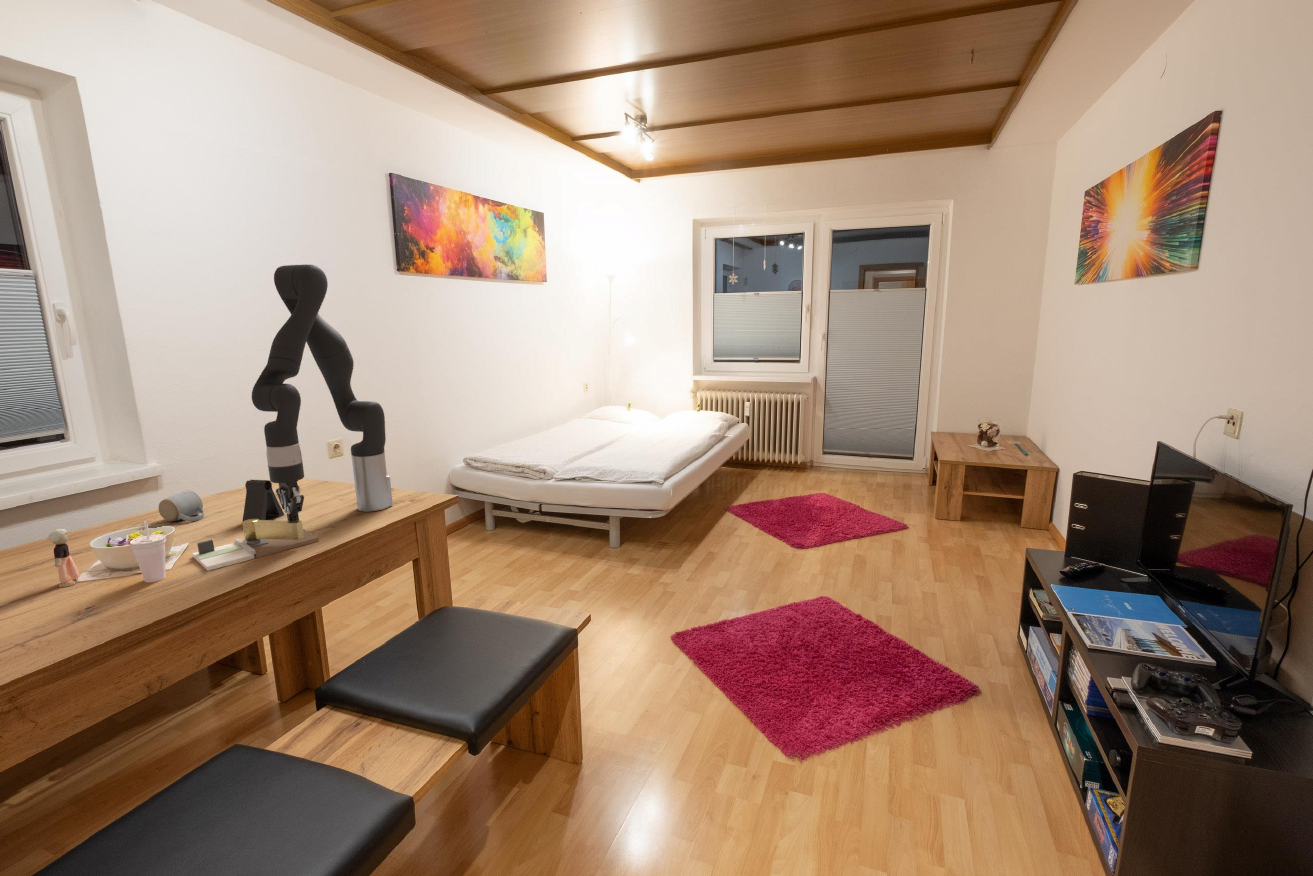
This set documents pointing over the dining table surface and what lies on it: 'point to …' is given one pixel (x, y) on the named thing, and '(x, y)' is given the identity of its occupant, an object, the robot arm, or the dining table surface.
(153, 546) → the smoothie
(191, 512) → the ceramic mug
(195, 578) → the dining table surface
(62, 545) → the grandmother figurine
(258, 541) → the door mockup
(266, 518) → the phone stand
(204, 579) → the dining table surface
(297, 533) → the swing bar
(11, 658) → the dining table surface
